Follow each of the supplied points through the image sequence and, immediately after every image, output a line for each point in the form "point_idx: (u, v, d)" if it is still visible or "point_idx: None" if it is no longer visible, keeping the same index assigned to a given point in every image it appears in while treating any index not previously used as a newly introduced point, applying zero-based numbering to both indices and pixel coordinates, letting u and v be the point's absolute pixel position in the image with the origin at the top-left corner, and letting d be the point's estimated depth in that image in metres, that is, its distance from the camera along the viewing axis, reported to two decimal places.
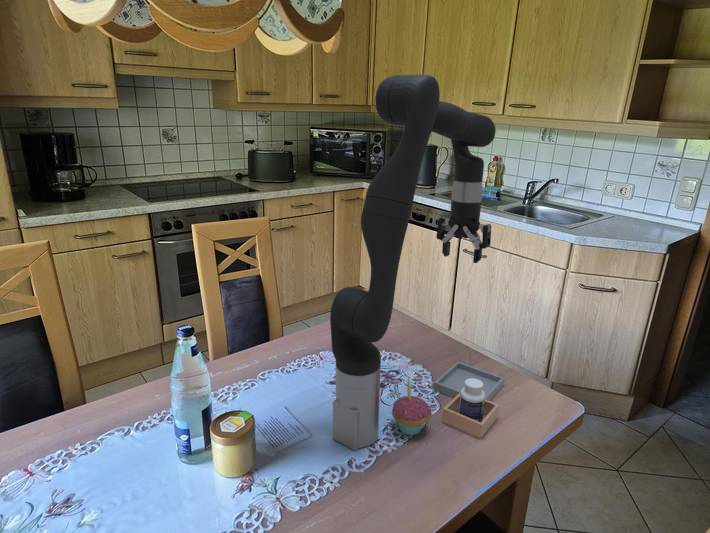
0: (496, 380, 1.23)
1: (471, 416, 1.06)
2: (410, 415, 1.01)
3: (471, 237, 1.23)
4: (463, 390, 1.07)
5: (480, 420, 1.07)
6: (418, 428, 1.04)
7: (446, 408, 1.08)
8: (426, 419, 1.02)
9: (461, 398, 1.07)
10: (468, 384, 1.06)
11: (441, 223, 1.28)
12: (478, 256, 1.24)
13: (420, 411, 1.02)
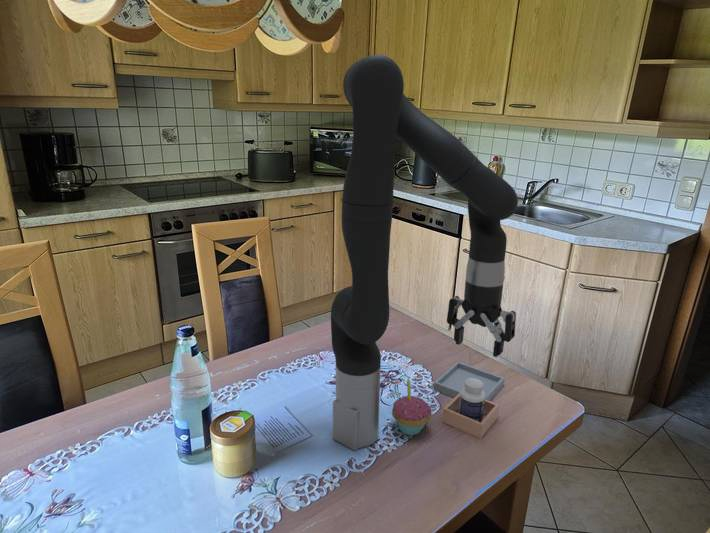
0: (496, 380, 1.23)
1: (471, 416, 1.06)
2: (410, 415, 1.01)
3: (491, 327, 0.98)
4: (463, 390, 1.07)
5: (480, 420, 1.07)
6: (418, 428, 1.04)
7: (446, 408, 1.08)
8: (426, 419, 1.02)
9: (461, 398, 1.07)
10: (468, 384, 1.06)
11: (453, 305, 1.03)
12: (499, 349, 1.00)
13: (420, 411, 1.02)
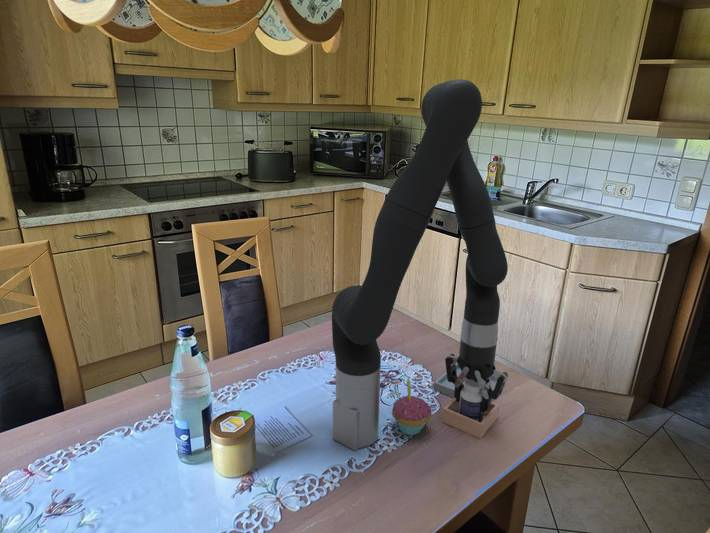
0: None
1: (471, 416, 1.06)
2: (410, 415, 1.01)
3: (482, 384, 1.03)
4: (463, 390, 1.07)
5: (480, 420, 1.07)
6: (418, 428, 1.04)
7: (446, 408, 1.08)
8: (426, 419, 1.02)
9: (461, 398, 1.07)
10: (468, 384, 1.06)
11: (449, 364, 1.08)
12: (487, 405, 1.05)
13: (420, 411, 1.02)
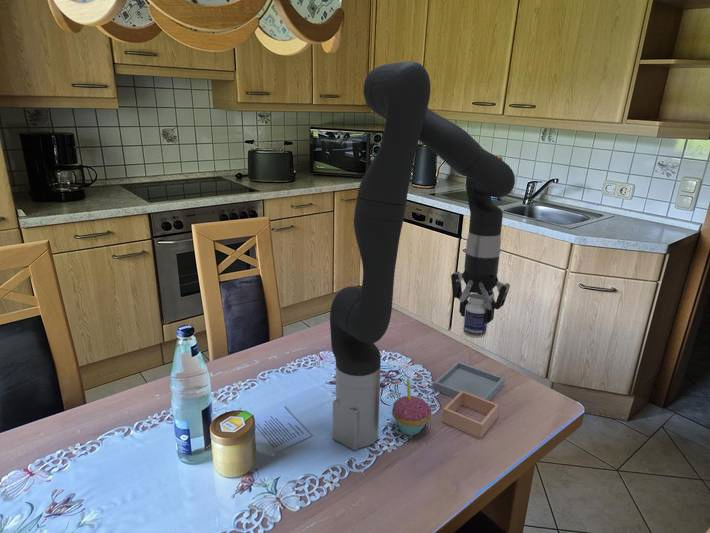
0: (496, 380, 1.23)
1: (475, 327, 1.14)
2: (410, 415, 1.01)
3: (485, 295, 1.11)
4: (468, 304, 1.15)
5: (484, 332, 1.15)
6: (418, 428, 1.04)
7: (446, 408, 1.08)
8: (426, 419, 1.02)
9: (466, 311, 1.15)
10: (472, 297, 1.13)
11: (455, 279, 1.15)
12: (490, 316, 1.12)
13: (420, 411, 1.02)
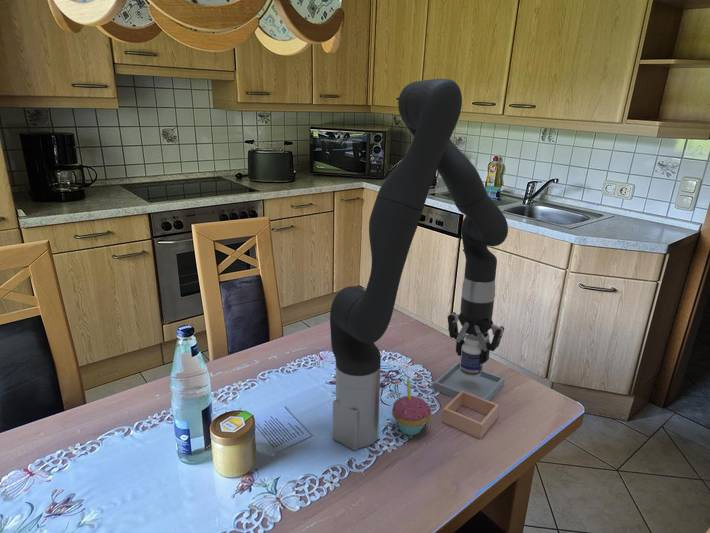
0: (496, 380, 1.23)
1: (471, 367, 1.17)
2: (410, 415, 1.01)
3: (481, 338, 1.14)
4: (464, 344, 1.19)
5: (479, 371, 1.18)
6: (418, 428, 1.04)
7: (446, 408, 1.08)
8: (426, 419, 1.02)
9: (462, 351, 1.18)
10: (468, 338, 1.17)
11: (451, 321, 1.19)
12: (485, 357, 1.16)
13: (420, 411, 1.02)
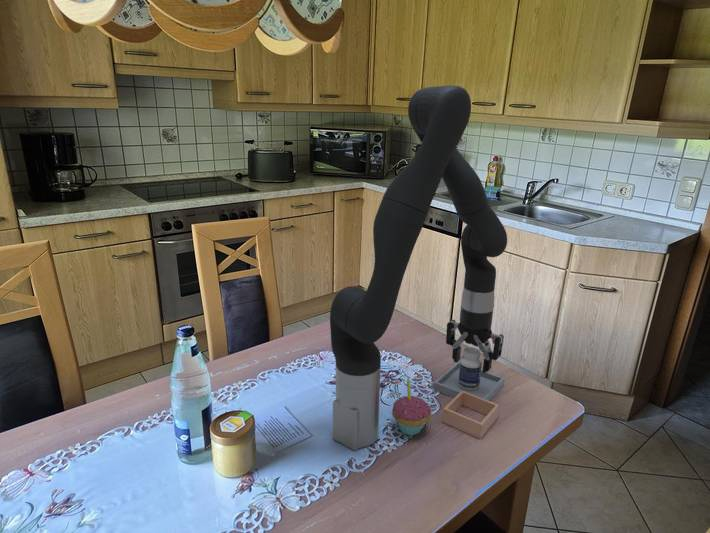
0: (496, 380, 1.23)
1: (469, 380, 1.18)
2: (410, 415, 1.01)
3: (481, 347, 1.15)
4: (462, 357, 1.20)
5: (477, 384, 1.20)
6: (418, 428, 1.04)
7: (446, 408, 1.08)
8: (426, 419, 1.02)
9: (460, 365, 1.19)
10: (466, 352, 1.18)
11: (450, 328, 1.20)
12: (488, 366, 1.16)
13: (420, 411, 1.02)
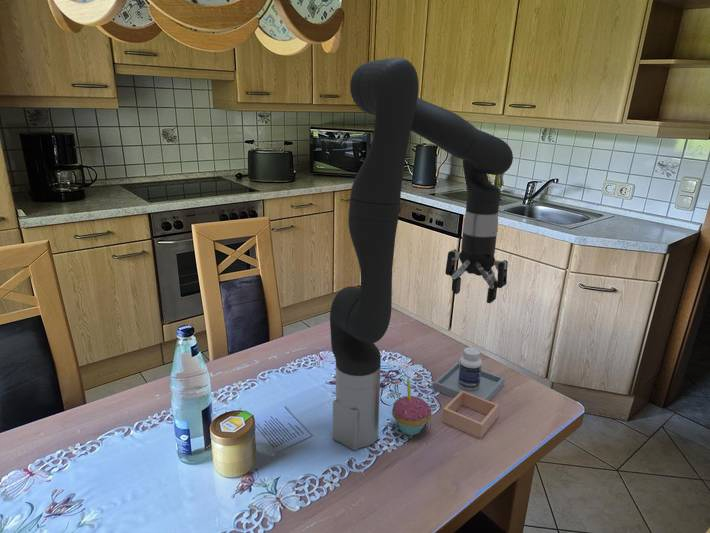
0: (496, 380, 1.23)
1: (469, 380, 1.18)
2: (410, 415, 1.01)
3: (485, 275, 1.09)
4: (462, 357, 1.20)
5: (477, 384, 1.20)
6: (418, 428, 1.04)
7: (446, 408, 1.08)
8: (426, 419, 1.02)
9: (460, 365, 1.19)
10: (466, 352, 1.18)
11: (451, 257, 1.14)
12: (492, 296, 1.10)
13: (420, 411, 1.02)
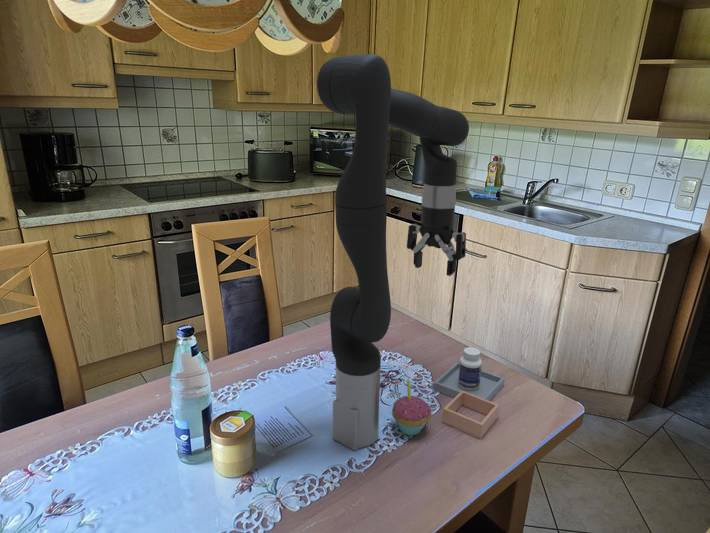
0: (496, 380, 1.23)
1: (469, 380, 1.18)
2: (410, 415, 1.01)
3: (444, 247, 1.10)
4: (462, 358, 1.20)
5: (477, 384, 1.20)
6: (418, 428, 1.04)
7: (446, 408, 1.08)
8: (426, 419, 1.02)
9: (460, 365, 1.19)
10: (466, 352, 1.18)
11: (411, 231, 1.15)
12: (452, 268, 1.11)
13: (420, 411, 1.02)
